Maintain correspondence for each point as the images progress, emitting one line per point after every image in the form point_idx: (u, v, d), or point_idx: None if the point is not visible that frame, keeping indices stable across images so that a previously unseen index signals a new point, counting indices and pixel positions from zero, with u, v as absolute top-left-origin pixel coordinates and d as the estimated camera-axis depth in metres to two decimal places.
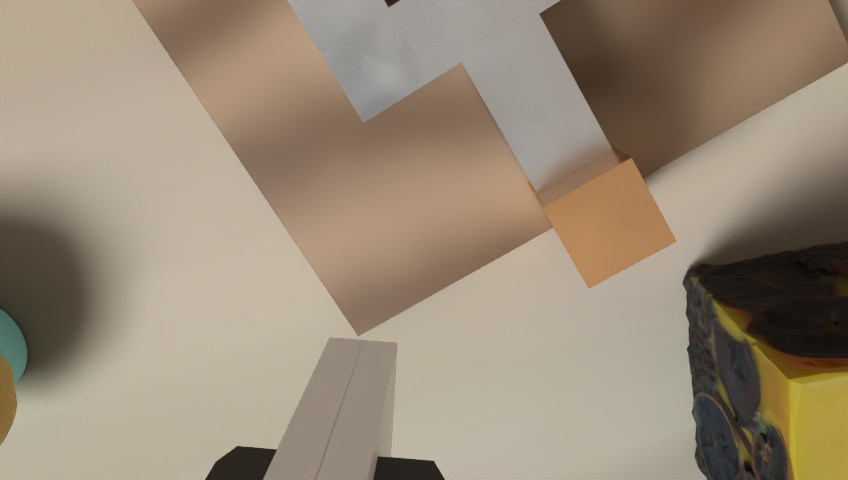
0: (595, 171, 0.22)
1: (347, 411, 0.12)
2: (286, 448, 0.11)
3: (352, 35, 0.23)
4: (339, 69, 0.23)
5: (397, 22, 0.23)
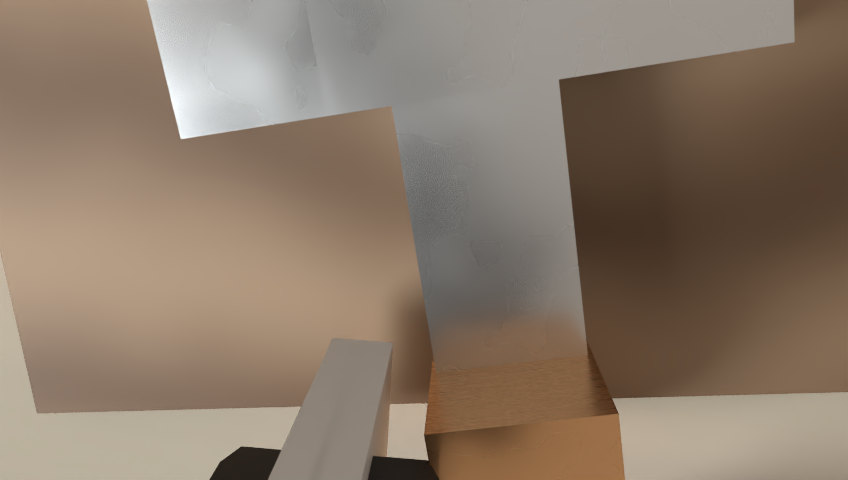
0: (544, 398, 0.12)
1: (341, 411, 0.12)
2: (290, 449, 0.11)
3: None
4: (169, 28, 0.12)
5: None
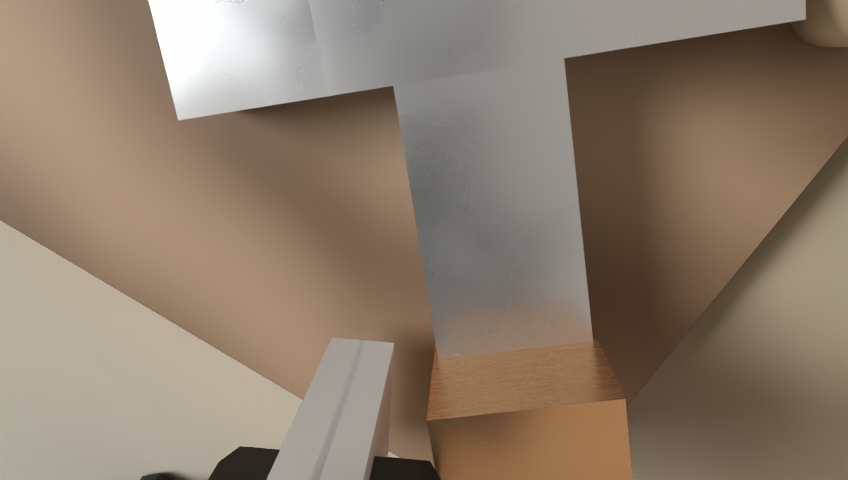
0: (549, 383, 0.12)
1: (343, 411, 0.12)
2: (289, 448, 0.11)
3: None
4: (166, 5, 0.12)
5: None
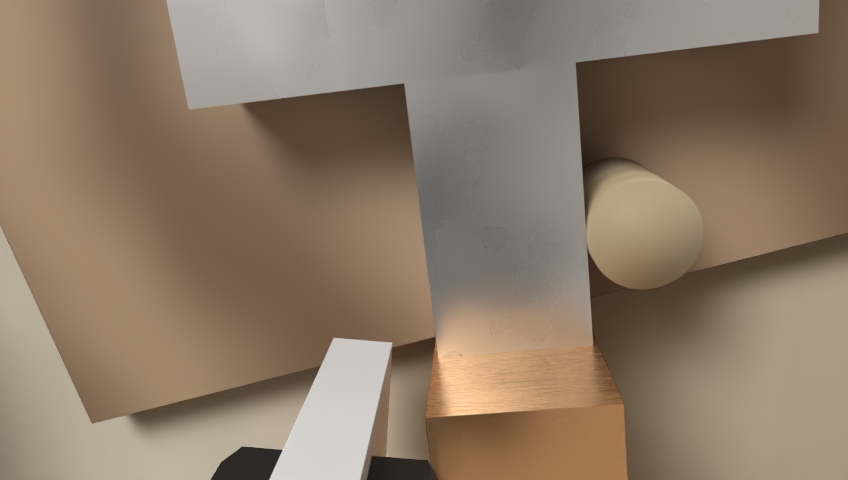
0: (548, 386, 0.12)
1: (340, 411, 0.12)
2: (291, 448, 0.11)
3: None
4: None
5: None
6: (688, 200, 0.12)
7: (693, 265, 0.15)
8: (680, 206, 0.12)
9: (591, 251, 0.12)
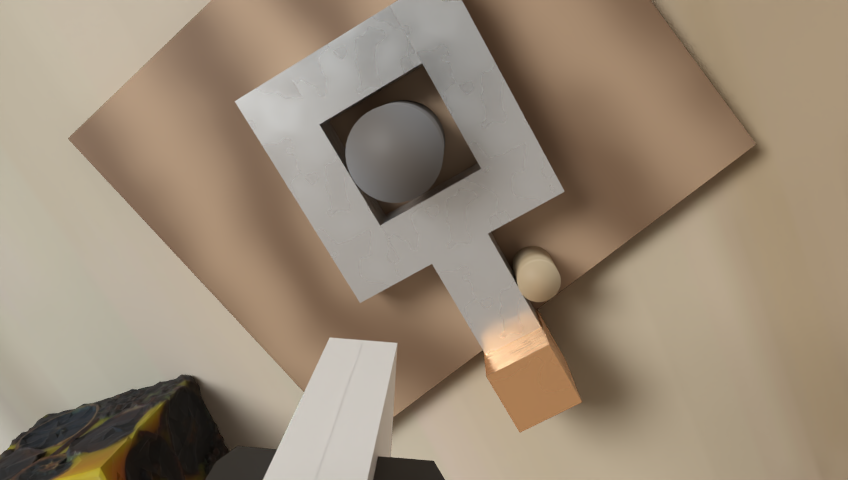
0: (525, 348, 0.31)
1: (347, 411, 0.12)
2: (286, 448, 0.11)
3: (353, 243, 0.32)
4: (343, 266, 0.32)
5: (386, 234, 0.32)
6: (548, 263, 0.32)
7: (576, 275, 0.35)
8: (546, 266, 0.32)
9: (522, 294, 0.32)
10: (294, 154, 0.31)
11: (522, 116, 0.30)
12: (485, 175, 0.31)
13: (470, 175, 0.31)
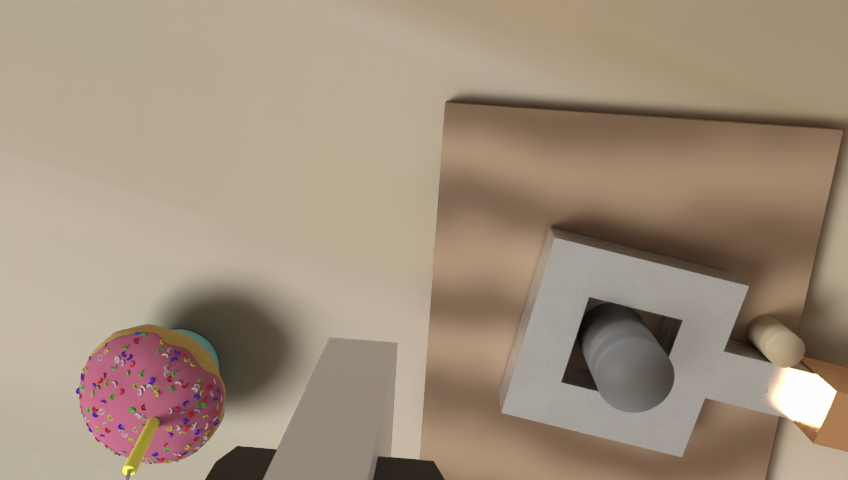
0: (821, 402, 0.37)
1: (347, 411, 0.12)
2: (286, 448, 0.11)
3: (644, 427, 0.40)
4: (651, 445, 0.40)
5: (659, 405, 0.39)
6: (781, 336, 0.37)
7: (800, 311, 0.40)
8: (782, 339, 0.37)
9: (783, 367, 0.38)
10: (562, 410, 0.40)
11: (679, 269, 0.37)
12: (689, 321, 0.38)
13: (679, 329, 0.38)
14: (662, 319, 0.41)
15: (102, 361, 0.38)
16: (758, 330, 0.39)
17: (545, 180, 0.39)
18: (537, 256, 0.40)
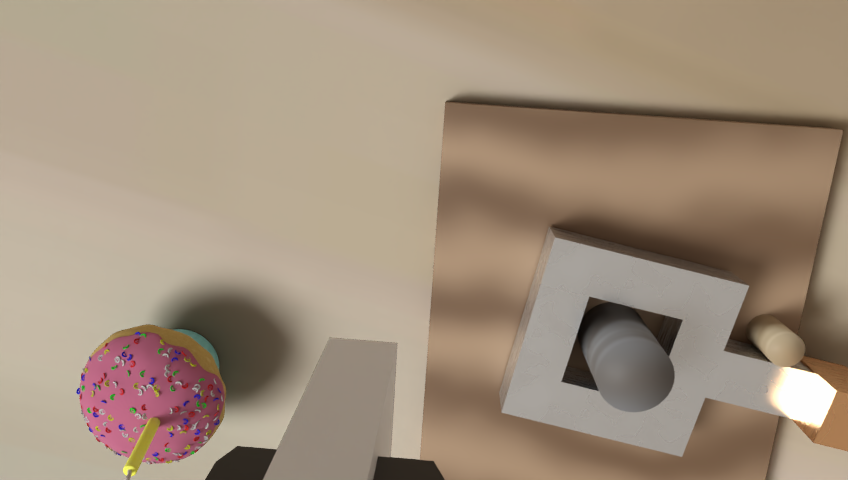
0: (821, 401, 0.37)
1: (347, 411, 0.12)
2: (286, 448, 0.11)
3: (644, 427, 0.40)
4: (651, 444, 0.40)
5: (659, 405, 0.39)
6: (781, 335, 0.37)
7: (800, 310, 0.40)
8: (782, 338, 0.37)
9: None
10: (562, 410, 0.40)
11: (679, 269, 0.37)
12: (689, 321, 0.38)
13: (679, 328, 0.38)
14: (662, 319, 0.41)
15: (102, 361, 0.38)
16: (758, 330, 0.39)
17: (545, 180, 0.39)
18: (537, 256, 0.40)
